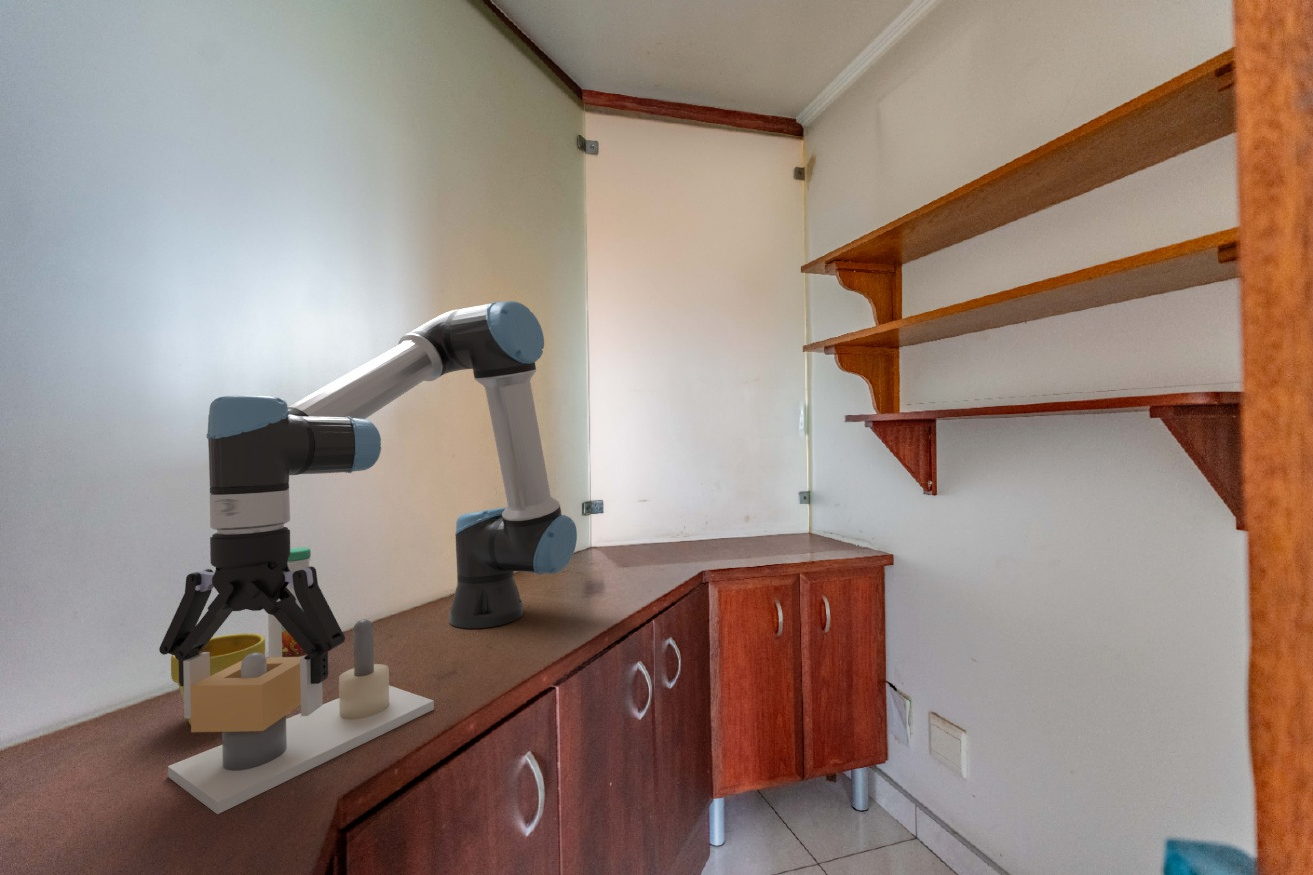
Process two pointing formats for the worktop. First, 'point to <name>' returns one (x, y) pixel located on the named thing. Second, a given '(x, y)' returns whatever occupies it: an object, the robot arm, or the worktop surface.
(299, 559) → the milk bottle
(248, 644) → the plant pot
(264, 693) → the collar
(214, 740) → the worktop surface
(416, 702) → the assembly board
